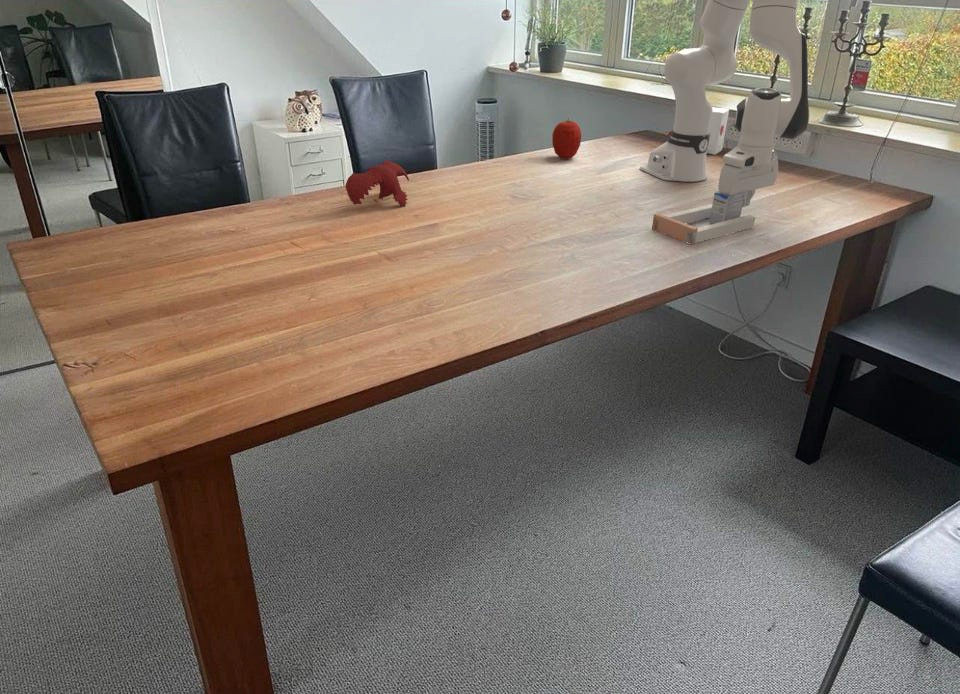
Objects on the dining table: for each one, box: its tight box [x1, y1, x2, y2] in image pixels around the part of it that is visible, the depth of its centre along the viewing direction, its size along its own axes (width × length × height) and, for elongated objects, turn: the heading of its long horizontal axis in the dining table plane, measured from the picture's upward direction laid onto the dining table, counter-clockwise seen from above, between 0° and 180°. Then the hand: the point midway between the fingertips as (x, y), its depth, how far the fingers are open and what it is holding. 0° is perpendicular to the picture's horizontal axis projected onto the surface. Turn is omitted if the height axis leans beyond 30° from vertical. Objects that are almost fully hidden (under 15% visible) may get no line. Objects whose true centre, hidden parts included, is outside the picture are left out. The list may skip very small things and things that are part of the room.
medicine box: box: [708, 190, 745, 224], centre depth 188 cm, size 8×4×9 cm, turn 129°
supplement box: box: [706, 106, 730, 155], centre depth 257 cm, size 9×9×15 cm
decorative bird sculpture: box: [345, 160, 410, 207], centre depth 199 cm, size 28×9×15 cm
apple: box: [551, 117, 582, 160], centre depth 245 cm, size 10×10×14 cm
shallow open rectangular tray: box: [651, 203, 756, 245], centre depth 185 cm, size 14×24×4 cm, turn 123°
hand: (743, 205), depth 191 cm, fingers closed
